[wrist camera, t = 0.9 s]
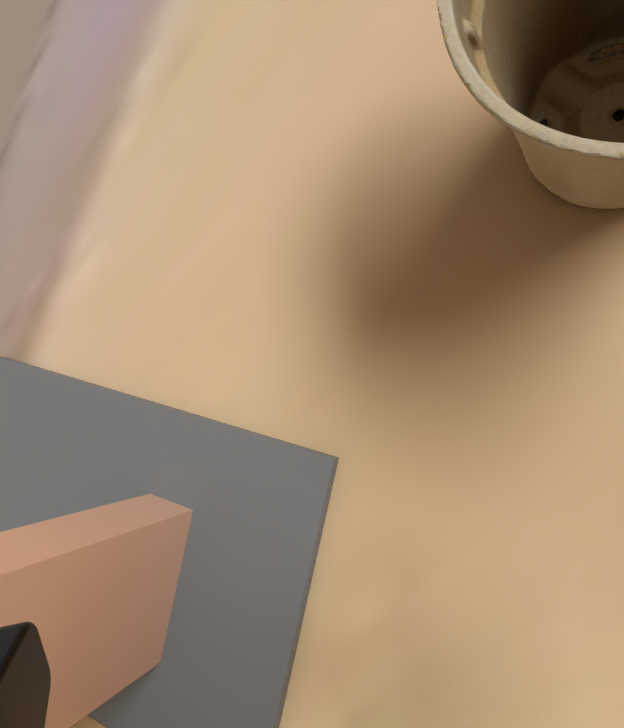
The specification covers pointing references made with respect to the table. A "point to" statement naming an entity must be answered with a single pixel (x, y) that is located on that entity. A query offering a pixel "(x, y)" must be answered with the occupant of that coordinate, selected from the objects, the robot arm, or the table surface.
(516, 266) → the table surface
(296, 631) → the mat
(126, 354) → the table surface
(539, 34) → the flower pot
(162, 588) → the salmon rectangular block
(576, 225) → the table surface
